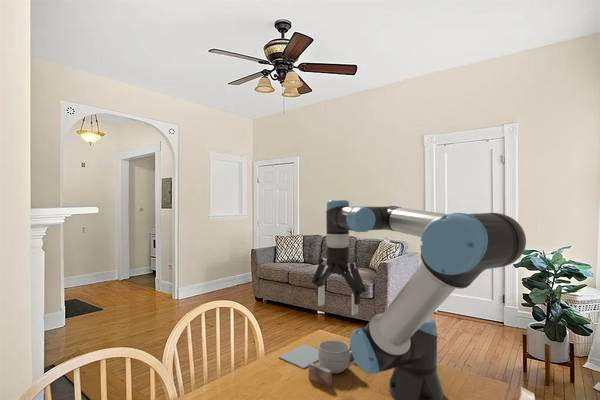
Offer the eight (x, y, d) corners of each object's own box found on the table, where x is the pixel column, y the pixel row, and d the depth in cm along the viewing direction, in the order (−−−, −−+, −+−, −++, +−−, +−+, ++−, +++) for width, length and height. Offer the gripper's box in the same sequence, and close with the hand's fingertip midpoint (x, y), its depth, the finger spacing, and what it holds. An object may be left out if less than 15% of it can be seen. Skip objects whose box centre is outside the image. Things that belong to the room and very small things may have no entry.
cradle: (364, 362, 118) (364, 349, 118) (328, 387, 102) (328, 372, 102) (345, 355, 123) (345, 343, 123) (308, 378, 108) (308, 364, 108)
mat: (328, 354, 124) (328, 353, 124) (303, 369, 114) (303, 367, 114) (304, 345, 132) (304, 344, 132) (278, 358, 122) (278, 356, 122)
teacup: (311, 369, 113) (311, 345, 113) (330, 358, 122) (330, 336, 122) (346, 384, 104) (346, 358, 104) (364, 371, 112) (364, 347, 112)
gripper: (376, 248, 107) (376, 314, 108) (315, 241, 124) (315, 299, 124) (364, 251, 102) (364, 321, 102) (302, 243, 118) (302, 304, 118)
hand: (337, 309), depth 113 cm, fingers open, 13 cm apart
